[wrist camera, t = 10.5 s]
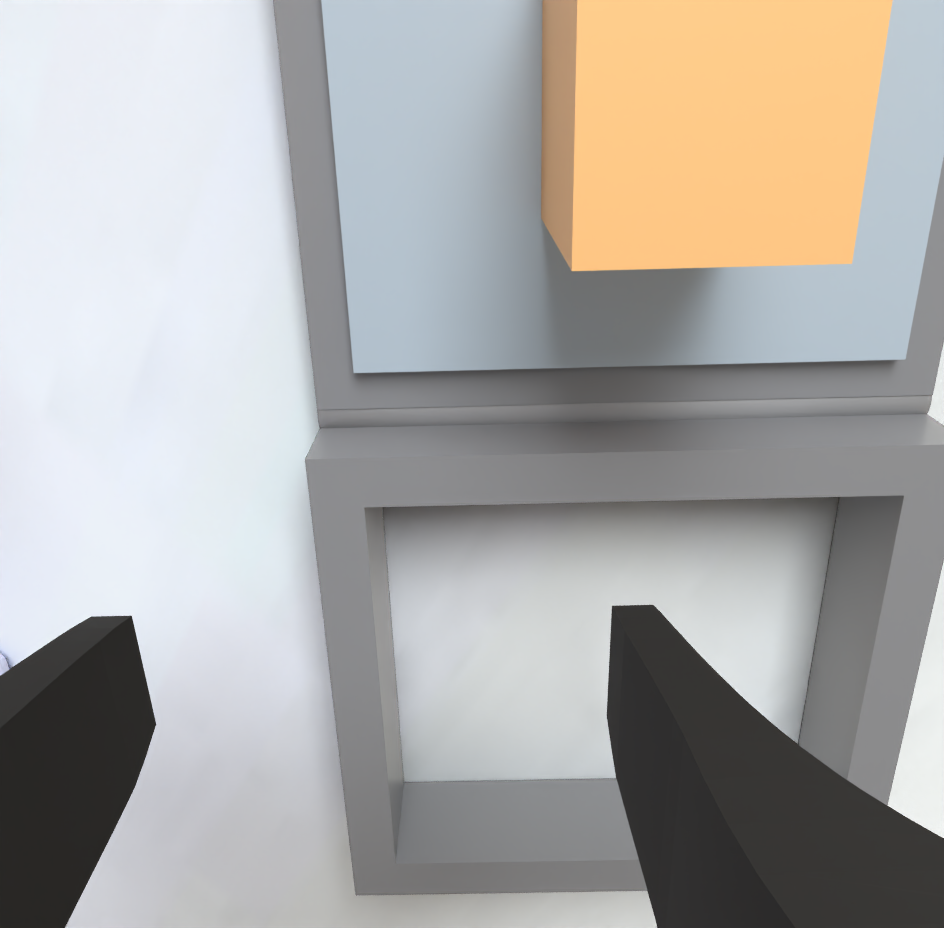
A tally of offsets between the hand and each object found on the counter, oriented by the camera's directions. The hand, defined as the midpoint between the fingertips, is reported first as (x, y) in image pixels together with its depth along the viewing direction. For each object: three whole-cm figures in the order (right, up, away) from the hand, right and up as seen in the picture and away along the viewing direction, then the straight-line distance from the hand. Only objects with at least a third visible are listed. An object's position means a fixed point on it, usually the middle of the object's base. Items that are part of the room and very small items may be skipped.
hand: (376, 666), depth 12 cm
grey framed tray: (+5, +5, +8) cm, 11 cm away
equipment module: (+5, +11, +4) cm, 12 cm away
